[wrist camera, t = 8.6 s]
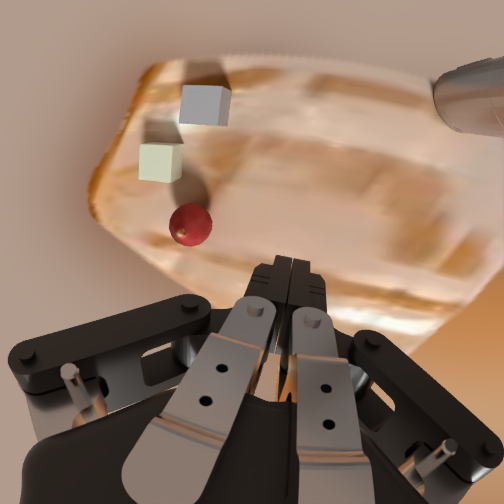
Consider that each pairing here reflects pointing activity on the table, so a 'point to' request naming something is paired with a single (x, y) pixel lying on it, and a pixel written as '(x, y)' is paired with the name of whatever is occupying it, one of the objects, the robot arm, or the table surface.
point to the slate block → (205, 105)
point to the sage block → (160, 161)
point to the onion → (190, 224)
